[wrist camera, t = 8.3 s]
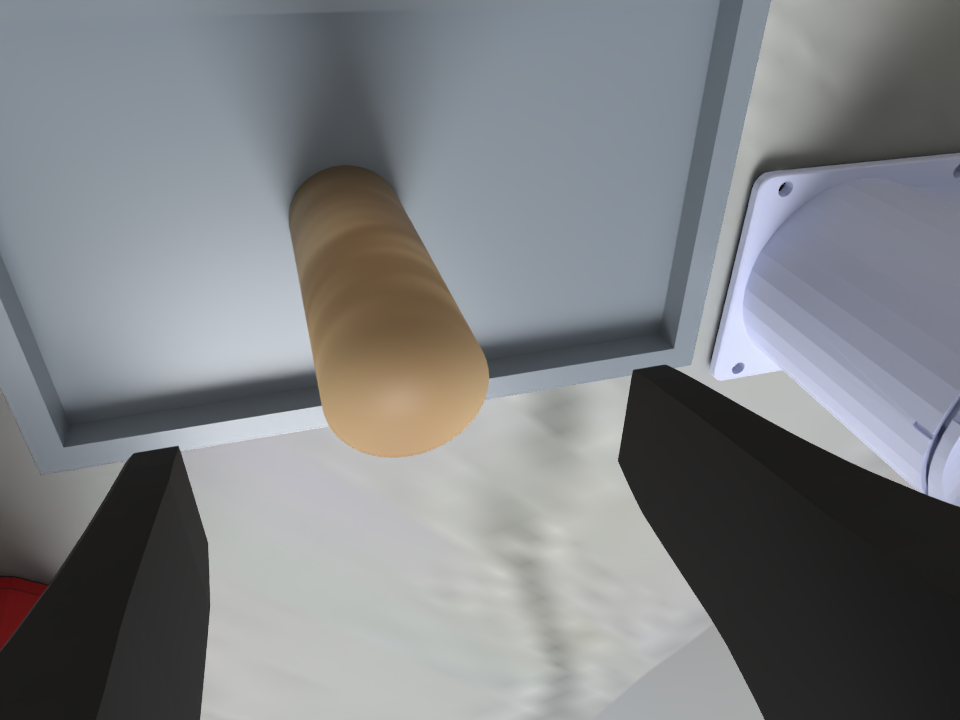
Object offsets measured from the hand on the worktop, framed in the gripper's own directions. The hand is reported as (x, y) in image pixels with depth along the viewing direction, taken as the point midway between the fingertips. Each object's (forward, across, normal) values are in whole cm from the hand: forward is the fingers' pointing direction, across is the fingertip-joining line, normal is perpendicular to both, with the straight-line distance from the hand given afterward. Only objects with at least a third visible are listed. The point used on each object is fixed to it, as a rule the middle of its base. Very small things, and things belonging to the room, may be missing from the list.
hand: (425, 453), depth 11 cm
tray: (+10, -1, 0) cm, 10 cm away
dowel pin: (+10, 0, 0) cm, 10 cm away
